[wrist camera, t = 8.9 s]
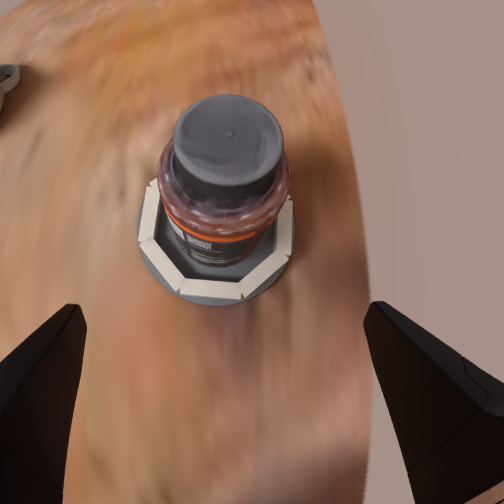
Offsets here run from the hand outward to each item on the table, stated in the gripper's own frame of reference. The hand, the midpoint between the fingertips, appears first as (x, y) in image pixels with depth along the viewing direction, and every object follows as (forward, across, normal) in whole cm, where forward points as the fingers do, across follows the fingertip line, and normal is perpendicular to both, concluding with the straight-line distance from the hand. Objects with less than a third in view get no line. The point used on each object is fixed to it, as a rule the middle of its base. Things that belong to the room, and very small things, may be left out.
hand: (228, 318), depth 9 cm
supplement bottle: (+13, 0, +4) cm, 13 cm away
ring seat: (+13, 0, +4) cm, 14 cm away
